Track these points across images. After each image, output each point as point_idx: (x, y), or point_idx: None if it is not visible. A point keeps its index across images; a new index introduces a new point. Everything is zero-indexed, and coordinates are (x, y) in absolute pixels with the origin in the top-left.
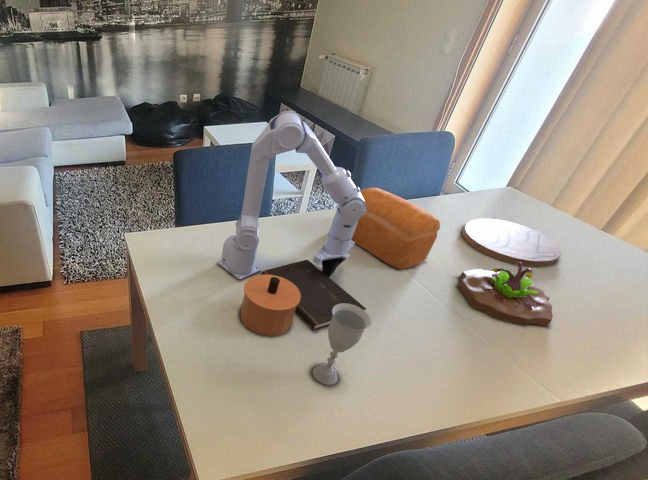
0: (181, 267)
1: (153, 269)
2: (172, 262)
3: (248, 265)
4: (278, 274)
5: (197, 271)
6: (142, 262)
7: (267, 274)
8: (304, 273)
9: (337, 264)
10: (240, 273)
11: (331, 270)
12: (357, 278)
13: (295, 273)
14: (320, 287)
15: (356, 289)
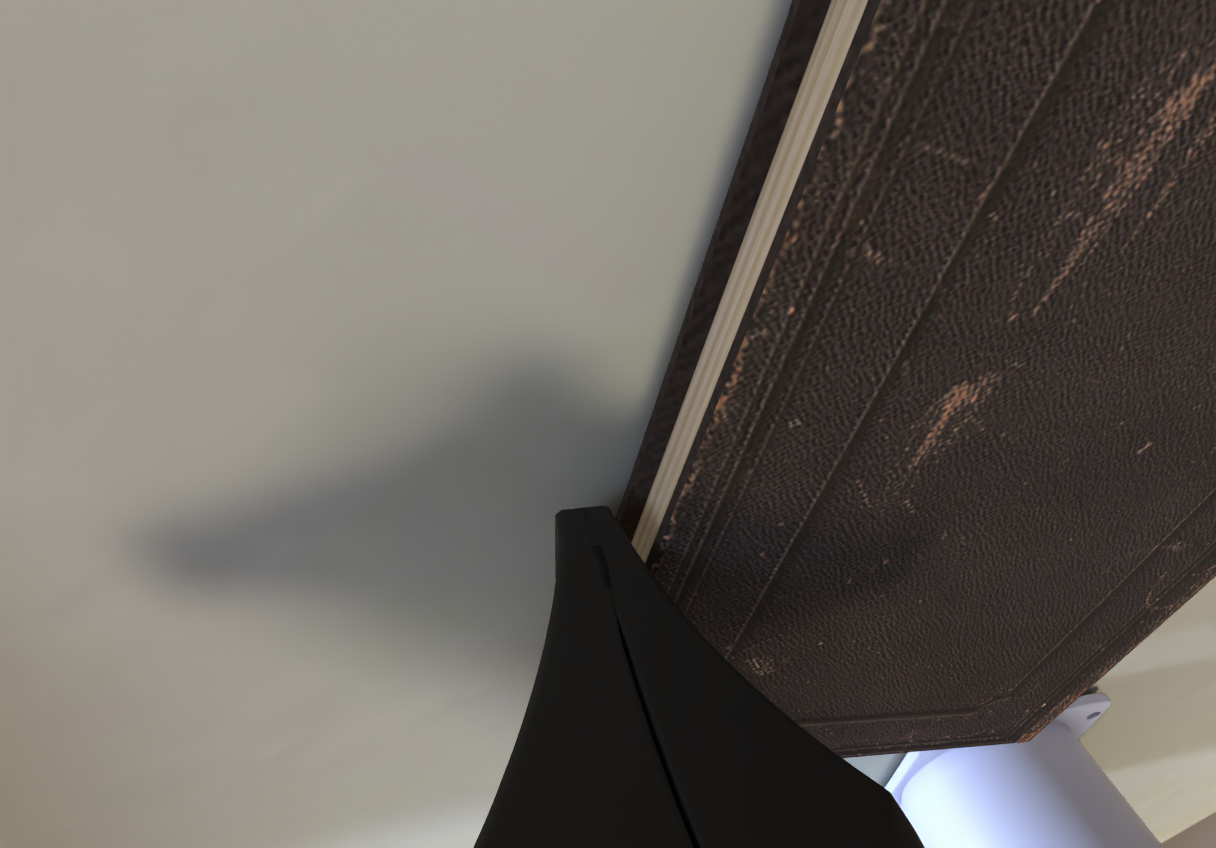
0: (1130, 798)
1: (1202, 803)
2: None
3: (1107, 808)
4: (1013, 690)
5: (1128, 771)
6: (1169, 833)
7: (1064, 708)
8: (837, 646)
9: (688, 760)
10: (1074, 735)
11: (692, 626)
12: (26, 308)
13: (902, 667)
14: (1002, 410)
15: (316, 89)
